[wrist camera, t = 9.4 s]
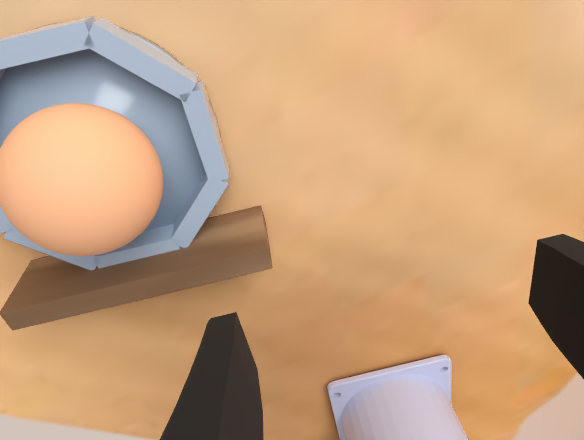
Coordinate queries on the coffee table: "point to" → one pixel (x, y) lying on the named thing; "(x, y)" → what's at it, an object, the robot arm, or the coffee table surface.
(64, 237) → the ball
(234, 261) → the wooden block
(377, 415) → the robot arm
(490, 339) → the coffee table surface
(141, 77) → the dish
